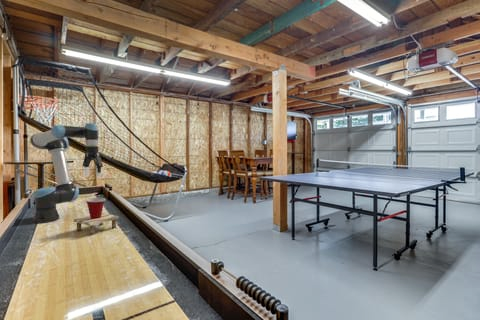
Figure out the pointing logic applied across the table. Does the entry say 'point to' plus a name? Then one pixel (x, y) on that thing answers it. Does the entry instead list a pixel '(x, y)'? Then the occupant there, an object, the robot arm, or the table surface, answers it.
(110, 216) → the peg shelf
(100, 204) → the plastic cup
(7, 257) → the table surface
